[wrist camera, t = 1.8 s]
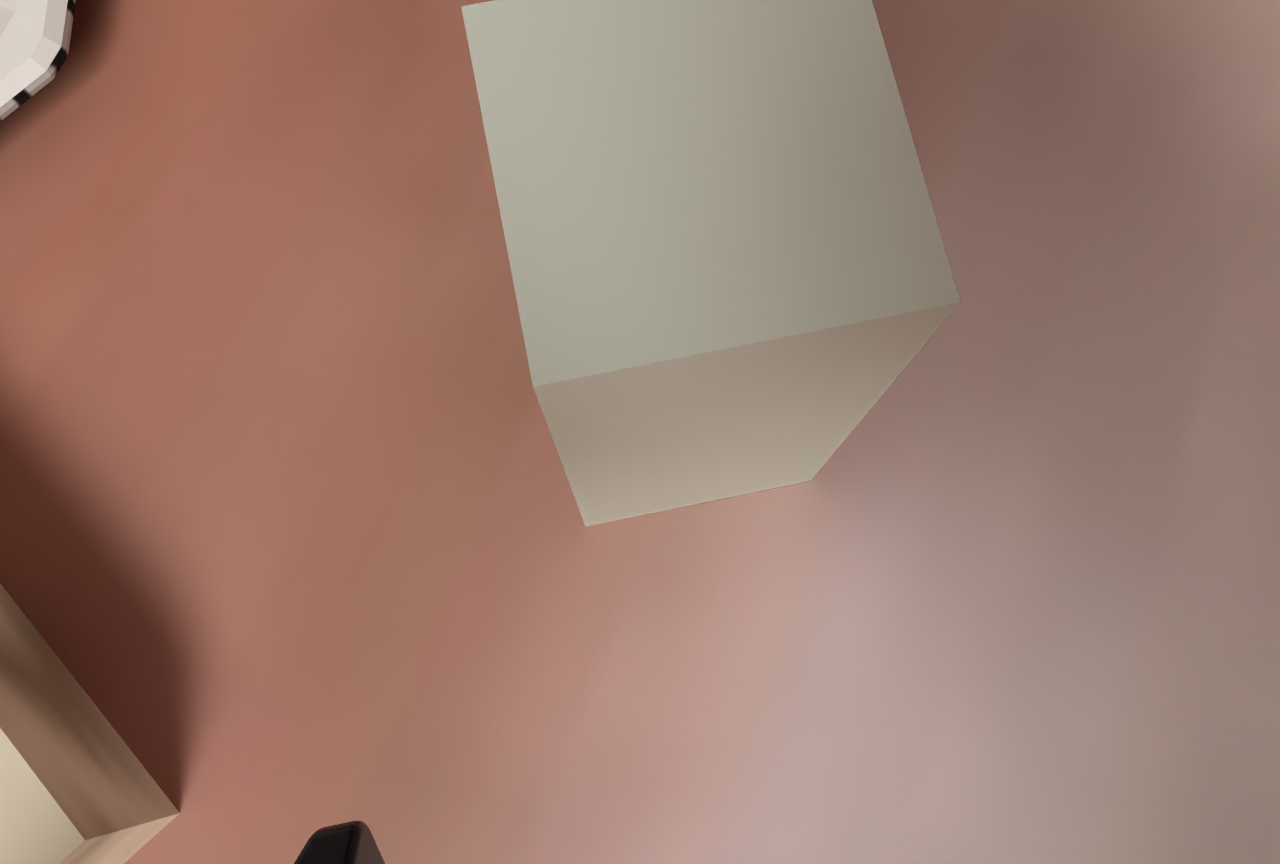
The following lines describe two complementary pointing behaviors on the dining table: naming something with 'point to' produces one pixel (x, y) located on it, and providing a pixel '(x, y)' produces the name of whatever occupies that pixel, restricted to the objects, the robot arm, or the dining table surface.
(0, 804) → the maple block
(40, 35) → the plate
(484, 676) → the dining table surface
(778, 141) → the sage block
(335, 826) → the robot arm
